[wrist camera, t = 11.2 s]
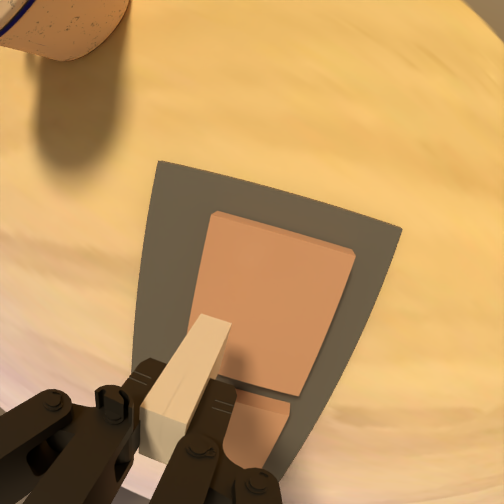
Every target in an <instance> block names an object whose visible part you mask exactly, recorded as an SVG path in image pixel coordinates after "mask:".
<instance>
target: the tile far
mask: <svg viewBox="0 0 504 504" xmlns="http://www.w3.org/2000/svg"><path fill="white" fill-rule="evenodd" d="M235 389H236V388H235ZM236 393H237V398H236V401H235V405H234V408H233V411H232V415H231V418H230V421H229V424H228V428H227V431H226V434H225V437H224V441H223V450H224V453H225V454H226V456H227V457H228V458H229V459H230V460H231V461H232V462H233V463H235V464H236V465H238V466H240V467H242V468H243V469H247V468H254V467H256V468H261V469H262V467H263V465H264V463H265V462H266V460H267V458H268V456H269V454H270V452H271V450H272V449H273V447H274V445H275V443H276V441H277V439H278V437H279V435H280V433H281V431H282V429H283V427H284V425H285V423H286V421H287V419H288V417H289V413H290V403H288V402H284V401H280V400H276V399H272V398H268V397H265V396H261V395H257V394H254V393H250V392H246V391H243V390H240V389H236Z"/></svg>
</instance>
